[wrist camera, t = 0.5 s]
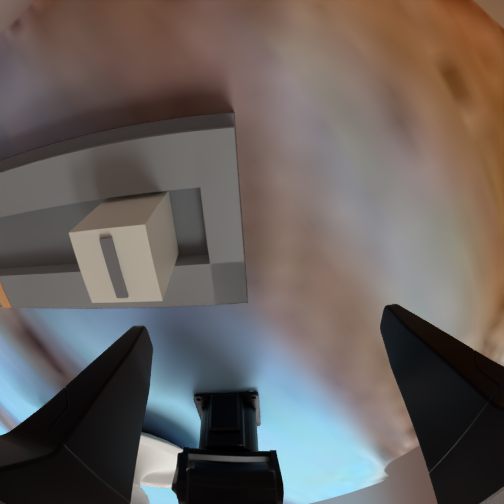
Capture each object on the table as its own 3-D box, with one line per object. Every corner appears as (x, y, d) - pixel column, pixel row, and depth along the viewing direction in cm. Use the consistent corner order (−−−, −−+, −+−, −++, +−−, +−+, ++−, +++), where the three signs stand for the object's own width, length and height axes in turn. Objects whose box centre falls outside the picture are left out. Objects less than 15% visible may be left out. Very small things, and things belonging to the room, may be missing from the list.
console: (246, 284, 23) (248, 312, 20) (-10, 292, 22) (-27, 312, 20) (234, 112, 17) (233, 114, 14) (-48, 180, 17) (-71, 192, 14)
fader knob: (178, 252, 19) (162, 303, 14) (120, 256, 19) (90, 305, 14) (168, 190, 17) (143, 226, 12) (106, 198, 17) (66, 234, 12)
